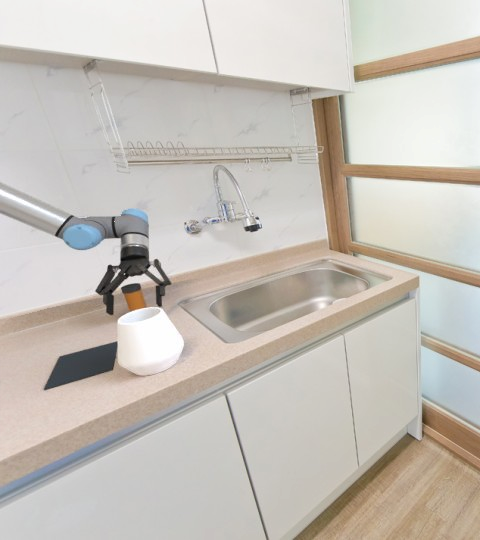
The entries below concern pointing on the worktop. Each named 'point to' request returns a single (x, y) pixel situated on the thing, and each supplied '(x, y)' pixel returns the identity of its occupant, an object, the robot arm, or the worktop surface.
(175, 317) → the worktop surface
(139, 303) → the vial
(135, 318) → the white vase
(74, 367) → the mat
